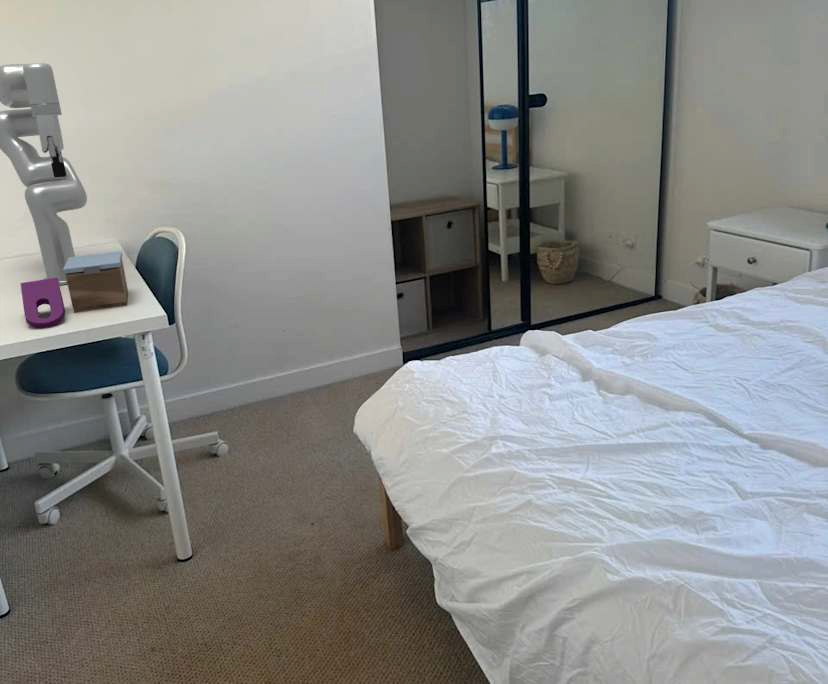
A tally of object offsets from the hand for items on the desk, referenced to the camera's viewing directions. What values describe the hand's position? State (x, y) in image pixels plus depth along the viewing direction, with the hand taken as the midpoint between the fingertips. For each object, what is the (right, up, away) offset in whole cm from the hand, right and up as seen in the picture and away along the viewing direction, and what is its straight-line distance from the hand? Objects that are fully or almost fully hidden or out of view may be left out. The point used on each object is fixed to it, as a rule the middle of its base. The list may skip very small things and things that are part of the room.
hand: (60, 176), depth 214 cm
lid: (+11, -26, -2) cm, 29 cm away
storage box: (+11, -36, +2) cm, 38 cm away
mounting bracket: (+2, -42, -11) cm, 43 cm away
